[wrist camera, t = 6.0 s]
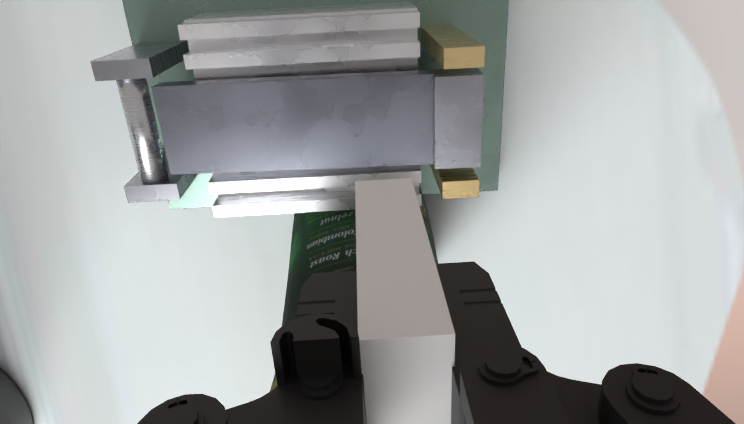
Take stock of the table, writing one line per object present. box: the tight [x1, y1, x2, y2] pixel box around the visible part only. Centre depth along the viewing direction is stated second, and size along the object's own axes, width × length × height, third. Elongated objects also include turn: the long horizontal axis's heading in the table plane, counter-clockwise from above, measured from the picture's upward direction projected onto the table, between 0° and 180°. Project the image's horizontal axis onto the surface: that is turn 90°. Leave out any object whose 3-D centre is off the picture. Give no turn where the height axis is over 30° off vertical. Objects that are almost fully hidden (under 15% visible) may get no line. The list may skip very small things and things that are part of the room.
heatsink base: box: [91, 0, 508, 218], centre depth 26 cm, size 19×12×8 cm, turn 93°
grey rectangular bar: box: [151, 68, 484, 175], centre depth 24 cm, size 14×4×2 cm, turn 93°
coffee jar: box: [270, 186, 438, 392], centre depth 26 cm, size 10×8×19 cm
